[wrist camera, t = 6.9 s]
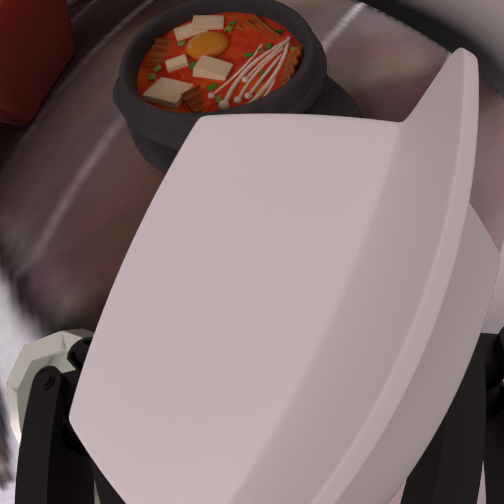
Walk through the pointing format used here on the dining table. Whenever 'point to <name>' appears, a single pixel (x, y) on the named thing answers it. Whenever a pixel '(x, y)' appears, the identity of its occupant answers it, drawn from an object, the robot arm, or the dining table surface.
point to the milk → (294, 308)
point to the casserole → (221, 71)
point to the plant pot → (31, 54)
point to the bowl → (27, 366)
